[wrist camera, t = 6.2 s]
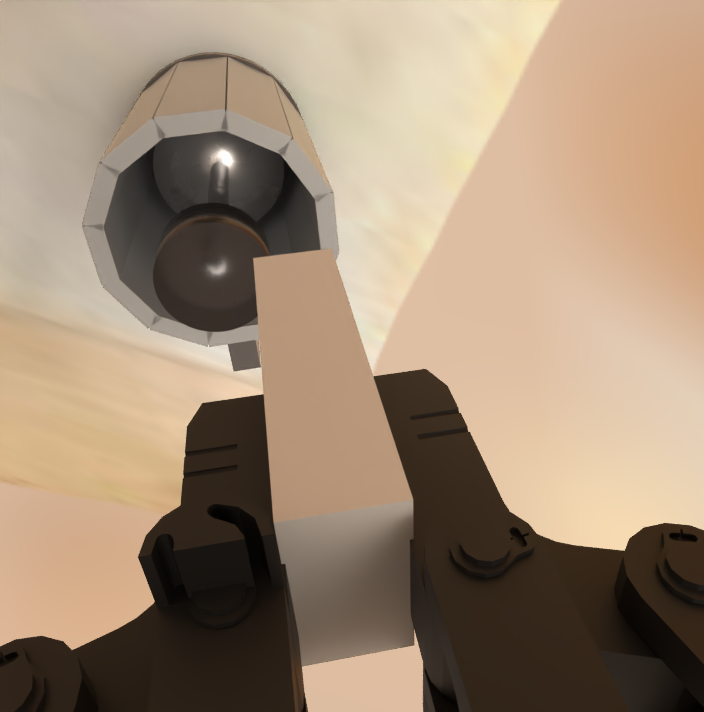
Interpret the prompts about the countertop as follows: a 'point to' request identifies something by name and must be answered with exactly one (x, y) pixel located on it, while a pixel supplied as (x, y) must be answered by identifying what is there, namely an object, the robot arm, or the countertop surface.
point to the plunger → (213, 226)
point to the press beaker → (152, 214)
